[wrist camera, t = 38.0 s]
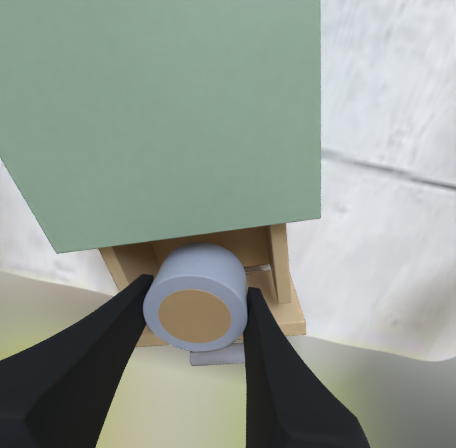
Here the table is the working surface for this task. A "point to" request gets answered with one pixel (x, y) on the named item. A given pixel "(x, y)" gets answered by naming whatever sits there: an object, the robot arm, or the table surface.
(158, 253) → the drawer
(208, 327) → the cylinder
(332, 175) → the table surface
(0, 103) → the cabinet
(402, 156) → the table surface
